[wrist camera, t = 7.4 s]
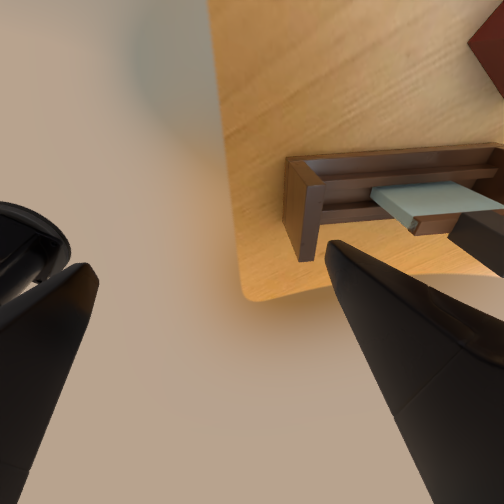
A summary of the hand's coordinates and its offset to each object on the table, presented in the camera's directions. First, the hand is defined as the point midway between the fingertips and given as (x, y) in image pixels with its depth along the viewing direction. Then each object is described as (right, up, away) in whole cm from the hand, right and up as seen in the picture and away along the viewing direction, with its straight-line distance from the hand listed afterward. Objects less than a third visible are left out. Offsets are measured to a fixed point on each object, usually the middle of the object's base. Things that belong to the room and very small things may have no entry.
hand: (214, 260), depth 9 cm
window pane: (+15, +6, +11) cm, 20 cm away
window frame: (+13, +6, +12) cm, 19 cm away
